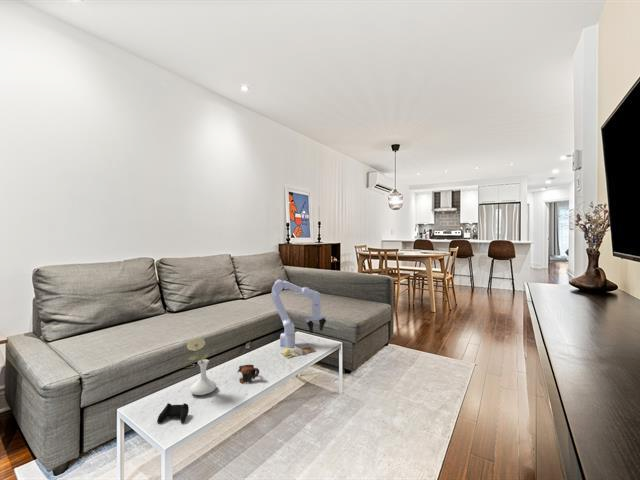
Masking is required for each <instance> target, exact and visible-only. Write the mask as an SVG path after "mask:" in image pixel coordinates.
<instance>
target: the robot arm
mask: <svg viewBox="0 0 640 480" xmlns="http://www.w3.org/2000/svg"><path fill="white" fill-rule="evenodd" d="M288 289H289V290H291V291H294V292H298V293H300V295H301V296H302V297H304V298H307V299H309V300H311V317H308V318H305V322H306V324H307V326H308V329H309V333H311V334H312V333H313V331H314V330H313V329H314V322H315V321H318V322H319V331H321V332H322V331H323V330H324V329H323V328H324V326H325V324H326V322H327V315H321V314H322V311H321V310H322V307H321V306H322V305H321V301H322V296H321V293H320V292H319V291H318V290H315V289H311V288H309V286H307V287H306V286H304V287H301V286H299V285H296V284H294V283H292V282H289V281H287V280H283V279H279V278H278V279H276V280H275V281H274V283H273V285H272V288H271V293H270V294H271V295H270V297H271V300H272V303H273V304H274V307H275V308H276V310H277V311H276V312H277V313H278V315H279V317H280V320H281V322H282V325H283V328H284V331H283V332H282V333H280V337H279V347H280V348H285V349H291V348H294V346H296V332H295V322H293V321H292V320H291V318H290V316H289V315H288V312H287V311H286V308H285V306H284V304H283V302H282V299H281V297H280V294H281V292H282V291H283V290H288Z"/></svg>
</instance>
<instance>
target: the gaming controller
mask: <svg viewBox="0 0 640 480" xmlns="http://www.w3.org/2000/svg"><path fill="white" fill-rule="evenodd" d="M189 407H190V406H189V404H187V403H186V402H184V403H183V404H171V403H170V402H167V404H166V405H165V407H164V409H162V411H161V412H160V413H159V415H158V417H157V418H156V419H157V421H156V422H157V423H158V424H160V423H162V422H164V421H165V420H166V419H167V418H180V423H181V424H183V423H185V422H186V420H187V418H188V415H189V411H190V409H189Z"/></svg>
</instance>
